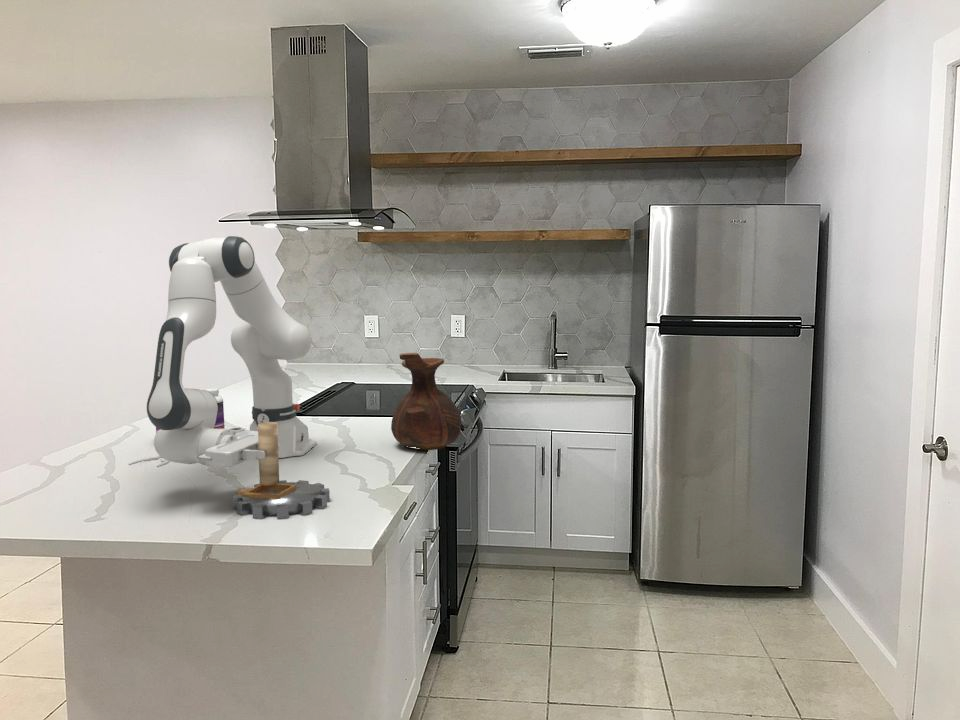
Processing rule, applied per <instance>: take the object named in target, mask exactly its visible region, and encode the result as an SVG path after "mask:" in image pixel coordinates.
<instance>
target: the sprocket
mask: <svg viewBox="0 0 960 720" xmlns="http://www.w3.org/2000/svg"><path fill="white" fill-rule="evenodd" d="M237 493H238V494H235V495H233V497H232V499H233V500H232V501H233V510H236V514H238V515H241V516H246V515H252V518H253V519H258V518H262V519H261V520H263V519H265V518H267V517H277V520H281V519H289V516H294V515H301V516H307V515H311V514H313V510H314V509H317V510H319V509H320V510H323V509H325V508H326V507H327V506H328V502H331V501H330V500H331V499H330V497H331V496H330V495H331V494H330V489H329V488H327V487H326V488H325V484H323V483H320V482H317V483H309V480H303V479H302V480H297V481H296V482H295V481H289V482H287V479H286V480H284V479H282V480H279V483H278V484H275V485H261V484H260V483H257V484H253V487H252V488H245V487H243V488H241V489H240V490H238V492H237Z"/></svg>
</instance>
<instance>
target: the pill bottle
mask: <svg viewBox="0 0 960 720" xmlns="http://www.w3.org/2000/svg"><path fill="white" fill-rule="evenodd" d="M201 390H206V391H209V392H210V393H212V394H213V395H214V397H215V398H216V400H217V403H218V414H217V419H216V424H215V428H214V429H226V428H225V426H226V425H225V412H224V411H225V410H224V409H225V408H224V398H223V397H222V396H220V395H219V393H220V391H219V388H215V387H214V388H212V387H211V388H210V387H209V388H203V389H201Z"/></svg>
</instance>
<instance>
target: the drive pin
mask: <svg viewBox="0 0 960 720" xmlns="http://www.w3.org/2000/svg"><path fill="white" fill-rule="evenodd" d="M258 445H259V450H266V451H267V457H265V458H263V459H258V467H259V468H258V470H259V484H261V485H275V484H278V483H279V481H280V463H279V459H280V458H279V456H278V423H276V422H263V423H259V424H258Z"/></svg>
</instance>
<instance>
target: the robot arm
mask: <svg viewBox="0 0 960 720" xmlns="http://www.w3.org/2000/svg"><path fill="white" fill-rule="evenodd" d="M254 252H255V251H254V249H253V247H252V245H251V243H249V242H248V240H246V239H245V238H244V237H242V236H241V237H240V236H237V235H236V236H234V235H233V236H231V235H229V236H227V237H211V238H205V239H202V240H201V239H200V240H198V241H193V242H190V243H188V242H187V243H183V244H180V245H178V246H175V247H174V248H173V249H172V251H171V252H170V254H169V257H168V267H169V271H170V278H169V284H168V293H167V298H168V299H167V314H166V317H165V318H166V319H165V321H164V323H163V324H162V325H161V328H160V331H159V334H158V339H157V348H156V356H155V362H154V363H155V365H154V374H153V379H152V385H151V389H150V392H149V395H148V397H147V402H146V413H147V417H148V419H149V421H150V423H151V424H152V425H153V426H154V427H155V428H156V427H157V428H159V429H160V430H158V432H157V433H156V432H155V435H154V438H153V442H154V443H153V445H154V448H155V451H156V453H157V455H158V456H160V457H162V458H161V459H162V460H164V461H165V460H168V461H170V462H172V463H175V464H176V463H178V464H183V465H194V464H200V465H202V466H206V467H207V466H209V467H216V468H223V469H224V468H225V469H226V468H232V467H236V466H237V465H240V464H242V463H244V462H246V461H251V460H256V459H257V460H259V459H263V458H265V457H267V451H266V450H259V445H258V424H259V423H263V422H276V423H278V456H279V459H282V458H284V459H285V458H289V457H299V456H304V455H306V454H307V453H309V451H311V450H312V449H313V448H314V447H315V446H316V445H318V442H317V440H315V439H310V438H309V434H310V433H309V427H308V426H307V425H306V424H305V423H304V422H303V421H302V420H300V419H299V417H297V411H300V409H301V408H300V407H301V405H300V403H294V402H293V381H292V378H291V377H290V375H289V374H288V373H287V372H285V371H284V370H283V368H282V367H281V365H280V363H279V360H282V361H291V360H297V359H302V358H303V357H306V355H307V354H308V353H309V352H310V350H311V346H312V336H311V333H310V331H309V328H308V327H307V326H305V325H303V324H301V323H300V322H298V321H296V320H295V319H294V318H292V317H291V316H290V315H289V314H288V312H286V311H285V310H284V309H283V307H281V305H280V304H279V303H278V302H277V300H276V299H275V298H274V296H273V294H272V292H271V290H270V288H269V285H268V284H267V282H266V279H265V277H264V275H263V274H262V271H261V270H260V267H259V266H258V264H257V262H256V261H255V253H254ZM217 282H220V285H221V287H222V289H223V291H224V293H225V296H226V297H227V299H228V301H229V303H230V305H231V307H232V309H233V311H234V314H236V316H237V317H238V318H239V319H241V320H242V321H243V322H240V323H237V324H236V325H235V326H234V328H233V329H232V330H231V333H230V344H231V347H232V348H233V350H234V352H236V354H238V355H239V357H240V358H241V359H242V360H243V362H244V364H245V365H246V367H247V369H248V372H249V375H250V379H251V386H252V387H251V388H252V398H253V400H252V401H253V403H252V404H253V406H252V407H251V408H252V409H251V415H252V416H251V418H252V422H251V423H250V424H249V430H245V429H246V428H244V427H234V428H233V427H232V428H225V429H214V428H215V424H216V419H217V414H218V403H217V400H216V398H215V397H214V395H213V394H212V393H210V392H209V391H206V390H202V389H200V388H199V389H198V388H186V387H184V385H183V374H184V373H183V372H184V366H185V365H184V363H185V354H186V351H187V348H188V347H189V345H190V344H192V342H194V341H196V340H199V339H201V338H203V337H206V335H208V334H209V333H210V332H211V331H212V329H214V327H215V324H216V319H217V293H216V285H215V283H217ZM312 447H313V448H312ZM311 448H312V449H311ZM305 453H306V454H305Z"/></svg>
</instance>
